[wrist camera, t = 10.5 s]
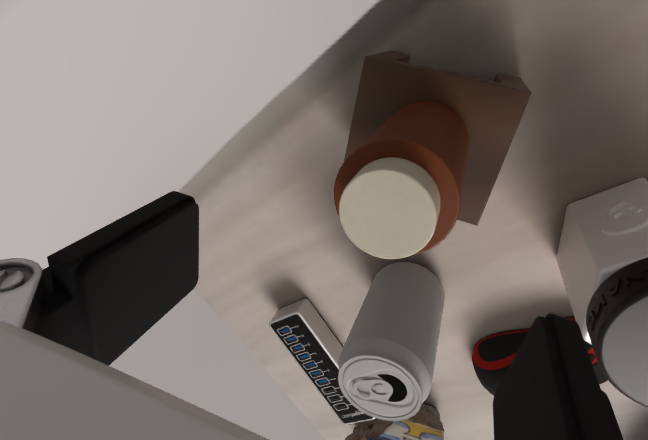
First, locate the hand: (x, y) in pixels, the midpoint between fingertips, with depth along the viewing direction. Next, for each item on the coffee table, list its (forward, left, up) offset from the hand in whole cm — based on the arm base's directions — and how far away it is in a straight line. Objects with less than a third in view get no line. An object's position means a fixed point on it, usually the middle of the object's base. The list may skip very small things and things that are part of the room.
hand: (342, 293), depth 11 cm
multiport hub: (+26, -3, -22) cm, 35 cm away
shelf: (0, 0, -22) cm, 22 cm away
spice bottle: (0, 0, -15) cm, 15 cm away
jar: (+4, +15, -22) cm, 27 cm away
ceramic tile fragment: (+31, +2, -20) cm, 37 cm away
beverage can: (+15, +2, -22) cm, 27 cm away
